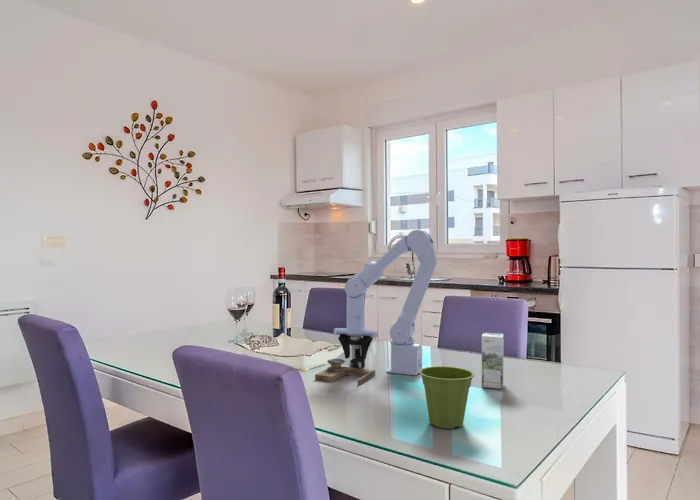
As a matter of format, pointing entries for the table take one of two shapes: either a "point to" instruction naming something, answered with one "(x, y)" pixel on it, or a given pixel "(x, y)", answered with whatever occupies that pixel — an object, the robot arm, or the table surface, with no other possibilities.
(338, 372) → the notched board
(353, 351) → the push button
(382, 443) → the table surface
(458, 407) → the plant pot
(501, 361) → the syrup box
